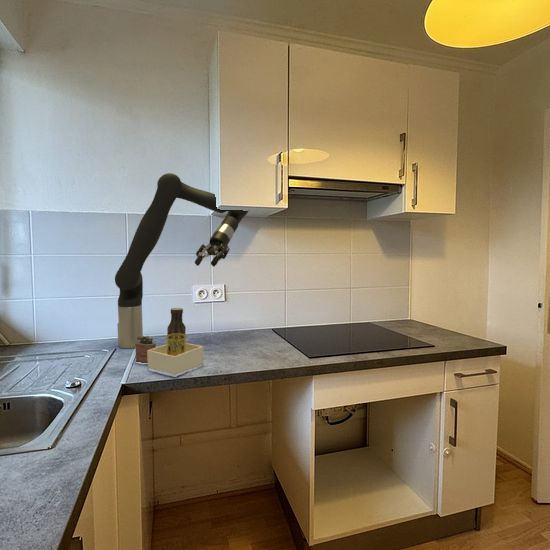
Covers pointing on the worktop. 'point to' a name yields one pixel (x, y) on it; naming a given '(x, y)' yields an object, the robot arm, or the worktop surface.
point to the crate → (175, 359)
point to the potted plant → (143, 348)
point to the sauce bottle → (176, 333)
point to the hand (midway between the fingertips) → (204, 264)
